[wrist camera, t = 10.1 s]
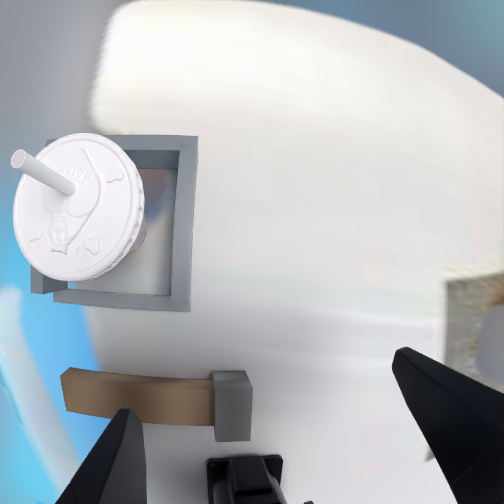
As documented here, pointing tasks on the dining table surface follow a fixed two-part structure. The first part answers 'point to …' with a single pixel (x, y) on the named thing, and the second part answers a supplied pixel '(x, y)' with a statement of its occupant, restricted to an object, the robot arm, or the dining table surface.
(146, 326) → the dining table surface
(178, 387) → the capped slat
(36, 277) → the endcap cradle
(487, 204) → the dining table surface
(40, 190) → the smoothie
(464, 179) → the dining table surface
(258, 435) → the dining table surface
